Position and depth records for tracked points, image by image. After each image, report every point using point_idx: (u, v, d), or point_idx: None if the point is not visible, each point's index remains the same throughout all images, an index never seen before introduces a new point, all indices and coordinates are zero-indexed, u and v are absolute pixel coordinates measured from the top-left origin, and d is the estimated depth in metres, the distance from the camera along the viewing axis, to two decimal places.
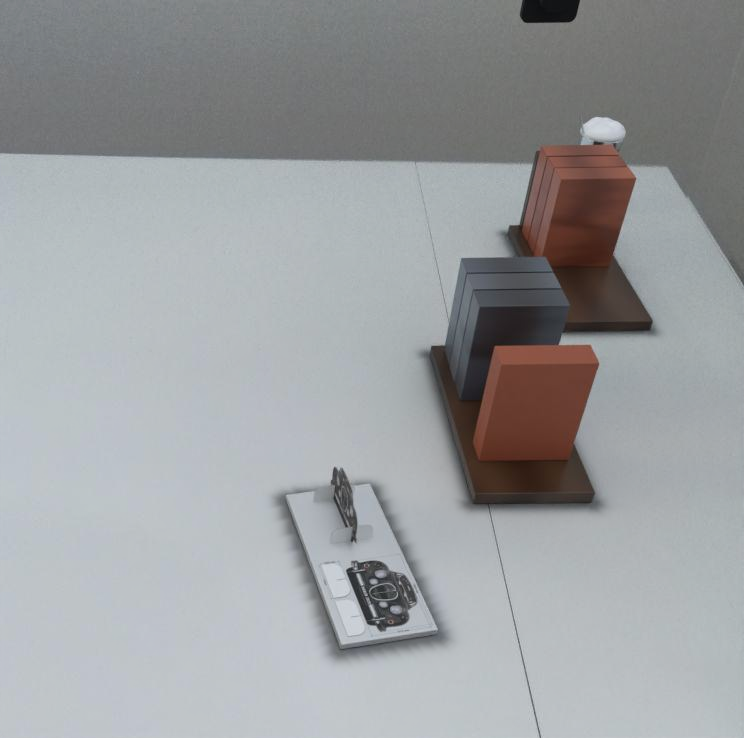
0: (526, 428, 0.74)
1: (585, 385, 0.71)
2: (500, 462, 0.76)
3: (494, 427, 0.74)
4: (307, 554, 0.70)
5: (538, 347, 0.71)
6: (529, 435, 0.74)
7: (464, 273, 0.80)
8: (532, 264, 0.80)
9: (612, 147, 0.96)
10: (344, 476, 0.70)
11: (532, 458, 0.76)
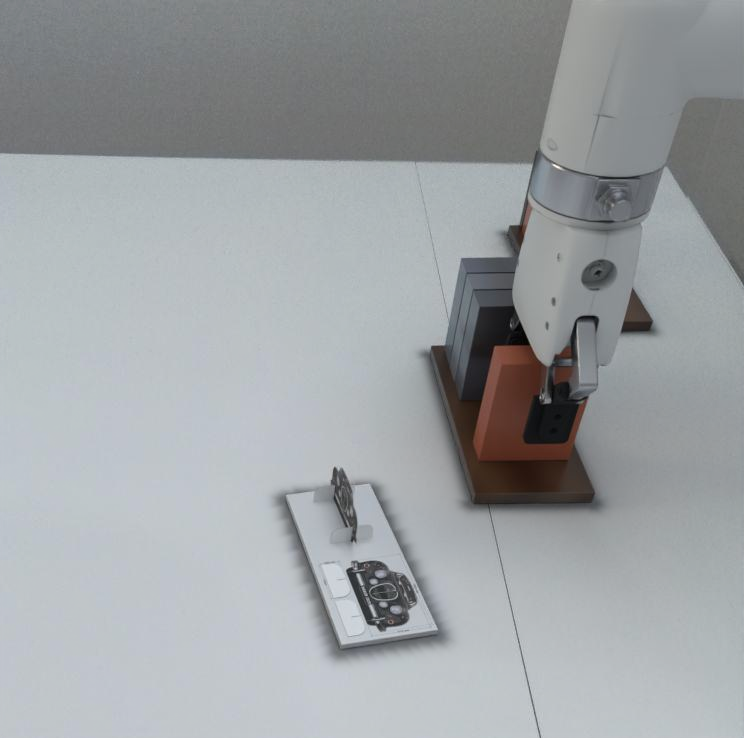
0: None
1: None
2: (500, 462, 0.76)
3: (494, 427, 0.74)
4: (307, 554, 0.70)
5: None
6: None
7: (464, 273, 0.80)
8: None
9: None
10: (344, 476, 0.70)
11: (532, 458, 0.76)
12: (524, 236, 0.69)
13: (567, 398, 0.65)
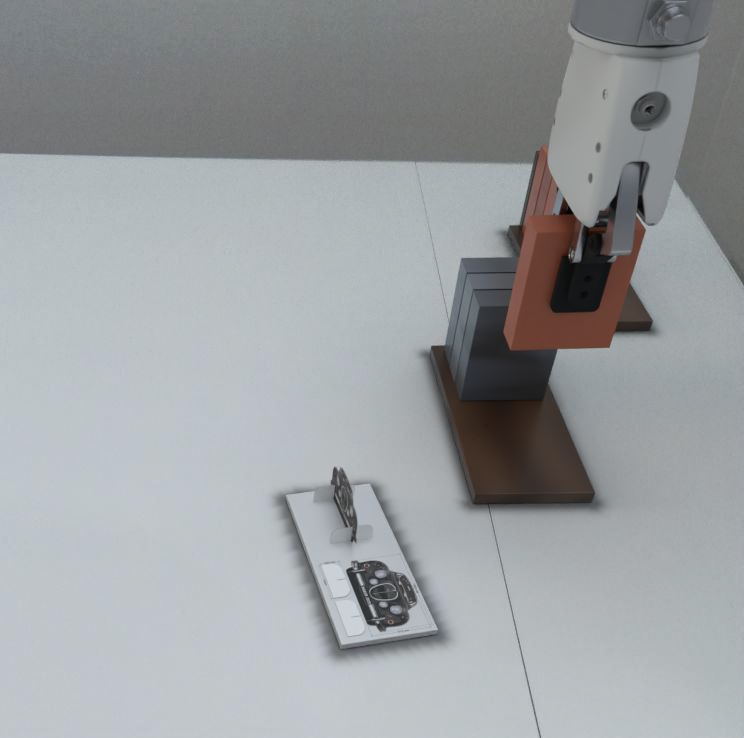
0: None
1: (629, 257, 0.64)
2: (500, 462, 0.76)
3: (527, 309, 0.67)
4: (307, 554, 0.70)
5: None
6: (567, 319, 0.67)
7: (464, 273, 0.80)
8: None
9: None
10: (344, 476, 0.70)
11: (569, 346, 0.69)
12: (561, 88, 0.62)
13: (597, 253, 0.61)
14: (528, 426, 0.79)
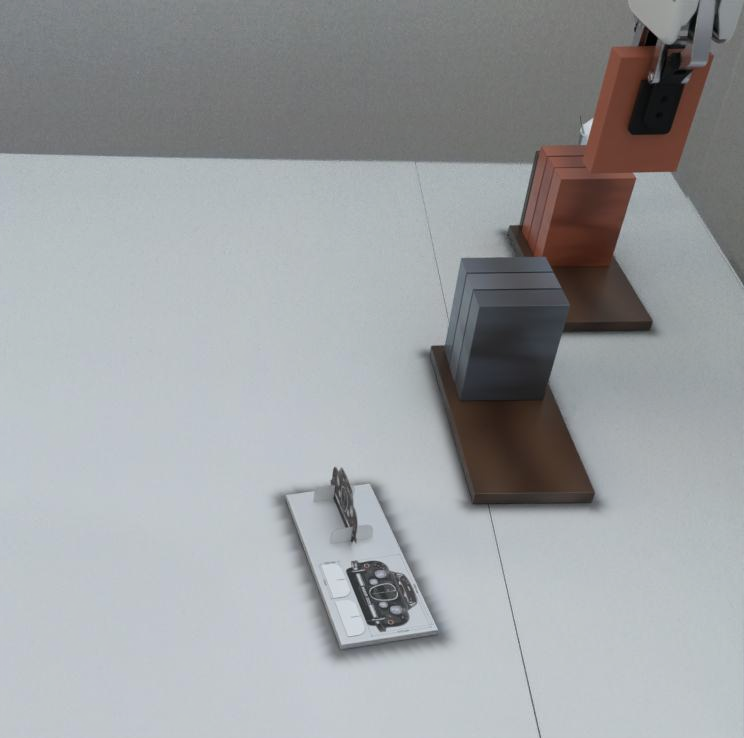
0: None
1: (698, 82, 0.75)
2: (500, 462, 0.76)
3: (608, 132, 0.78)
4: (307, 554, 0.70)
5: (653, 47, 0.75)
6: (641, 142, 0.78)
7: (464, 273, 0.80)
8: (532, 264, 0.80)
9: None
10: (344, 476, 0.70)
11: (641, 170, 0.80)
12: None
13: (676, 69, 0.71)
14: (528, 426, 0.79)
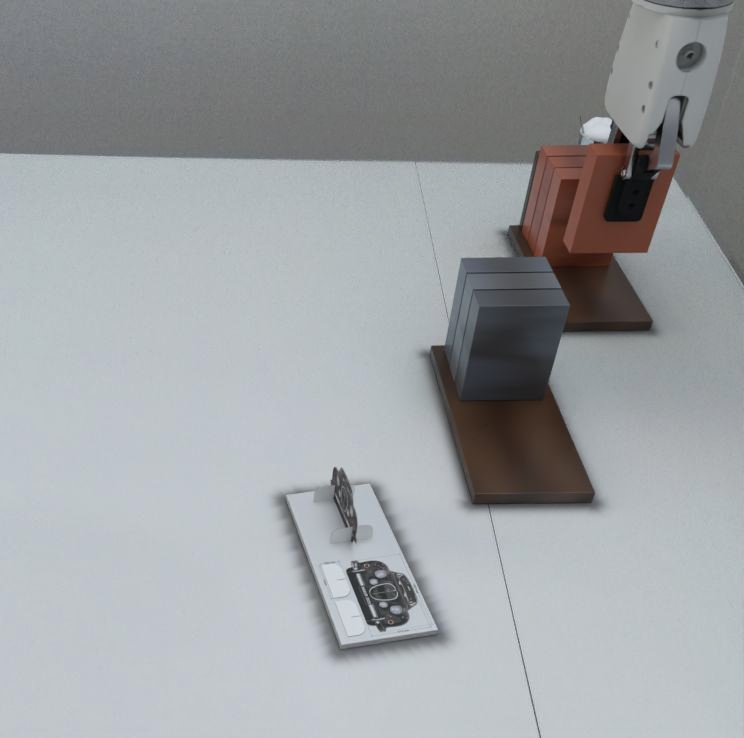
0: None
1: (667, 177, 0.83)
2: (500, 462, 0.76)
3: (586, 218, 0.86)
4: (307, 554, 0.70)
5: (626, 144, 0.83)
6: (615, 227, 0.86)
7: (464, 273, 0.80)
8: (532, 264, 0.80)
9: None
10: (344, 476, 0.70)
11: (616, 251, 0.88)
12: (618, 45, 0.81)
13: (645, 169, 0.80)
14: (528, 426, 0.79)
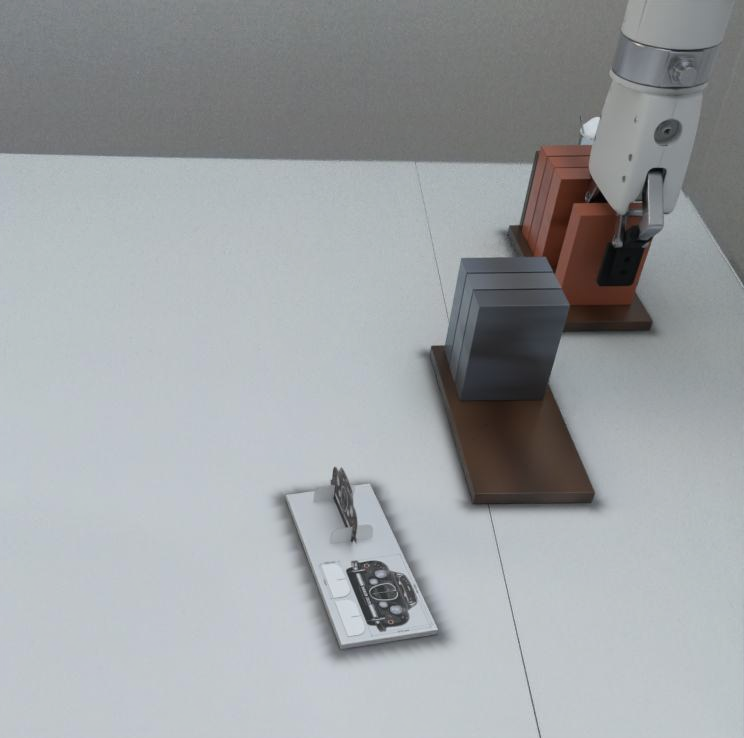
0: (597, 275, 0.90)
1: None
2: (500, 462, 0.76)
3: (571, 273, 0.90)
4: (307, 554, 0.70)
5: (609, 204, 0.87)
6: None
7: (464, 273, 0.80)
8: (532, 264, 0.80)
9: None
10: (344, 476, 0.70)
11: (601, 303, 0.92)
12: (601, 114, 0.85)
13: (637, 239, 0.82)
14: (528, 426, 0.79)
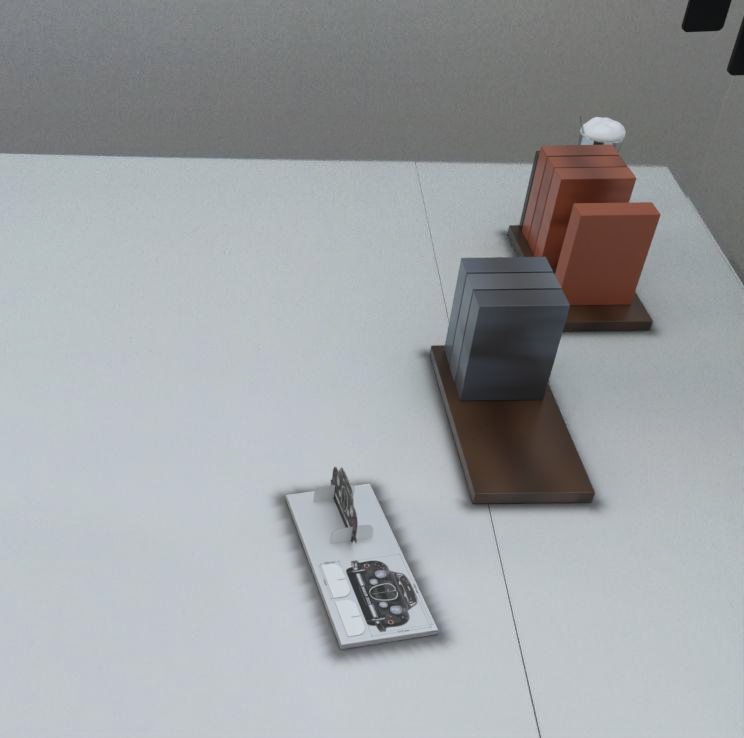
0: (597, 275, 0.90)
1: (648, 235, 0.87)
2: (500, 462, 0.76)
3: (571, 273, 0.90)
4: (307, 554, 0.70)
5: (609, 204, 0.87)
6: (600, 281, 0.90)
7: (464, 273, 0.80)
8: (532, 264, 0.80)
9: (612, 147, 0.96)
10: (344, 476, 0.70)
11: (601, 303, 0.92)
12: None
13: None
14: (528, 426, 0.79)
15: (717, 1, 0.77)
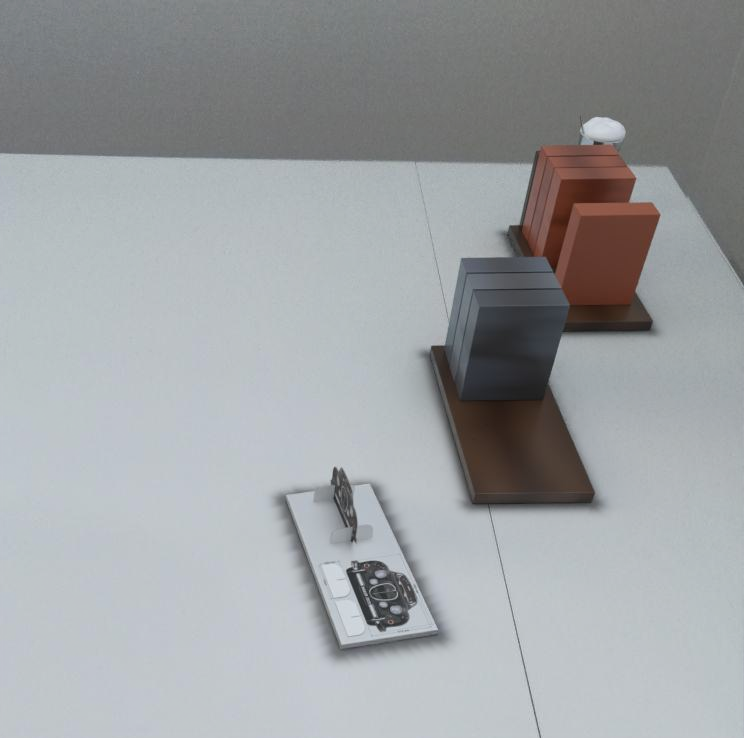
0: (597, 275, 0.90)
1: (648, 235, 0.87)
2: (500, 462, 0.76)
3: (571, 273, 0.90)
4: (307, 554, 0.70)
5: (609, 204, 0.87)
6: (600, 281, 0.90)
7: (464, 273, 0.80)
8: (532, 264, 0.80)
9: (612, 147, 0.96)
10: (344, 476, 0.70)
11: (601, 303, 0.92)
12: None
13: None
14: (528, 426, 0.79)
15: None
